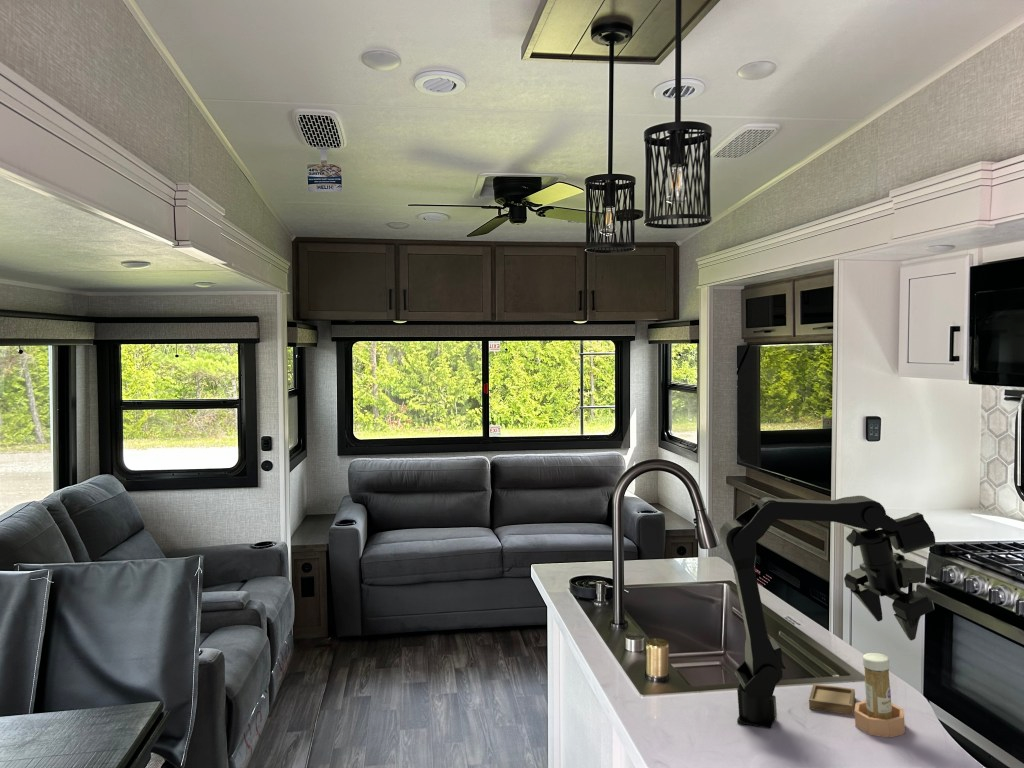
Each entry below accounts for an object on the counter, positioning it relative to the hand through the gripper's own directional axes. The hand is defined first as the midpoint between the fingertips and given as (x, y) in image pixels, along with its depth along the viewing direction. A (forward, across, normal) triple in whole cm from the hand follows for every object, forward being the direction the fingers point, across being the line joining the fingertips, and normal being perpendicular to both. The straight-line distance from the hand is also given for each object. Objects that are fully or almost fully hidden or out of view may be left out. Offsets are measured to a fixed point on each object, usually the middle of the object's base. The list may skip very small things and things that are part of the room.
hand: (895, 629), depth 149 cm
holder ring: (+13, -6, +12) cm, 19 cm away
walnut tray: (+13, +5, +15) cm, 20 cm away
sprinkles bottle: (+13, -6, +12) cm, 19 cm away
